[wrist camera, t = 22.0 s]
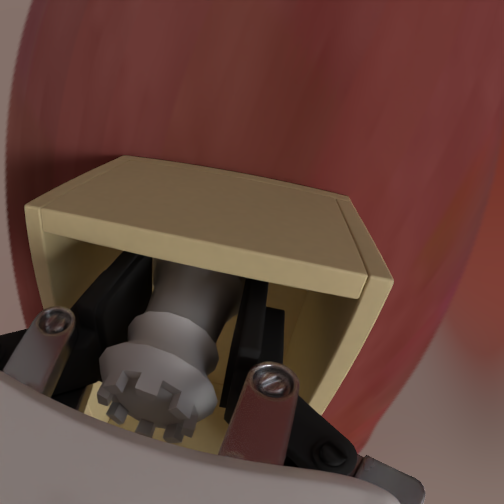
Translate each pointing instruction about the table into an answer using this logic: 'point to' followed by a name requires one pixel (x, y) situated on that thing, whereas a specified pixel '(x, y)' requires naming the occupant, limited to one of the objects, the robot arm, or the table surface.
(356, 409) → the table surface
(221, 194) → the chest
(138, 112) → the table surface
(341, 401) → the table surface
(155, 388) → the rook chess piece
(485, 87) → the table surface
